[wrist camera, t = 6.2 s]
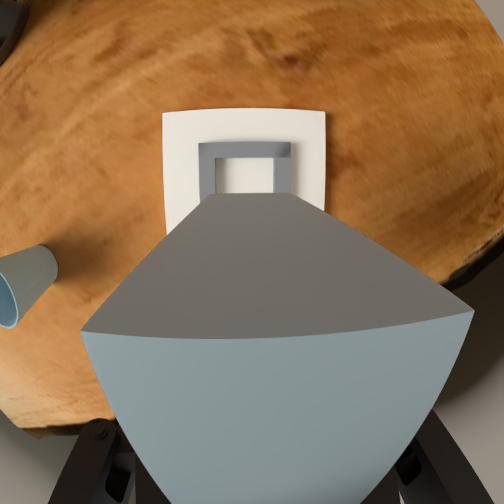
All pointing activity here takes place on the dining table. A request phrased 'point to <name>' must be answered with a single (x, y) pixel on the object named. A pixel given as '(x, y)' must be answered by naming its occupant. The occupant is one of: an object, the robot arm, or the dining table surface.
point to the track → (241, 155)
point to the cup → (24, 281)
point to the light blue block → (272, 354)
